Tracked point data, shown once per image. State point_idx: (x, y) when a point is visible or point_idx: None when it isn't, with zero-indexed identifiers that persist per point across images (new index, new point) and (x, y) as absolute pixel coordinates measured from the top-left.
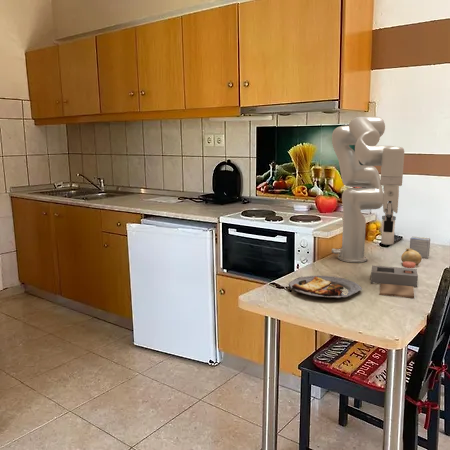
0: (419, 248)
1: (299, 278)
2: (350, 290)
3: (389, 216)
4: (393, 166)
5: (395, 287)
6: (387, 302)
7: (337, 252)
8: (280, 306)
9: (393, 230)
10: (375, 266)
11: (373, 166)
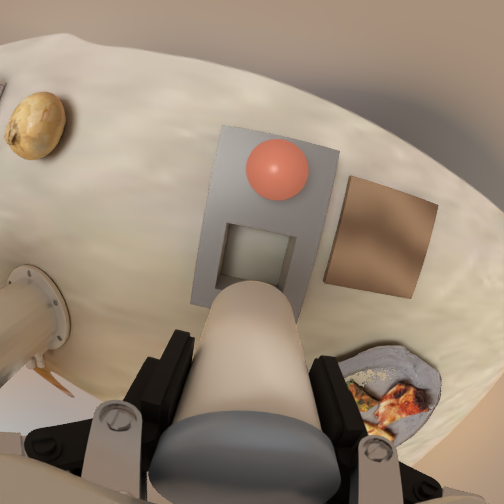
0: None
1: None
2: (382, 366)
3: (445, 495)
4: None
5: (367, 241)
6: (455, 284)
7: (41, 358)
8: (427, 445)
9: (292, 346)
10: (206, 294)
11: None
